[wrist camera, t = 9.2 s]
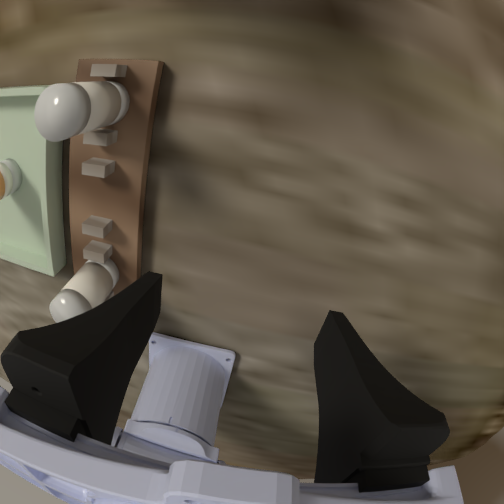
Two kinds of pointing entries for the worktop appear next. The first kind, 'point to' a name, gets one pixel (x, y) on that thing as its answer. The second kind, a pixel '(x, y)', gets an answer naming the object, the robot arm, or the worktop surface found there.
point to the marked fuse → (9, 177)
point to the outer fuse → (79, 108)
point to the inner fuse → (85, 290)
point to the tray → (31, 186)
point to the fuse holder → (113, 172)
